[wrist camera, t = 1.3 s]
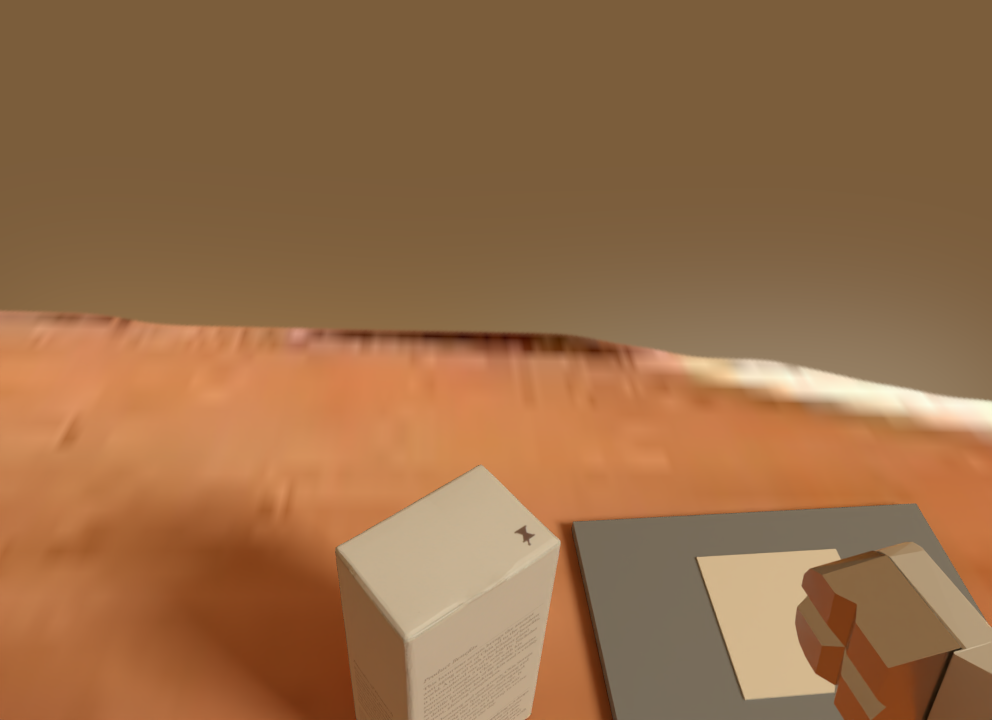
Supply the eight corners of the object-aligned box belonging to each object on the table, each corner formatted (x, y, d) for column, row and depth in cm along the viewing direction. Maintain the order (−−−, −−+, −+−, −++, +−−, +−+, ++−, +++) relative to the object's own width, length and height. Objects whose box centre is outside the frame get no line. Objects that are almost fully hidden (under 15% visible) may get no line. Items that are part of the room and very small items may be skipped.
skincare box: (469, 640, 37) (485, 457, 29) (532, 717, 35) (568, 541, 27) (348, 723, 34) (330, 543, 26) (409, 812, 32) (408, 646, 24)
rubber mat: (626, 780, 33) (629, 772, 33) (571, 529, 42) (573, 520, 42) (1047, 741, 36) (1055, 733, 35) (911, 510, 44) (916, 502, 44)
